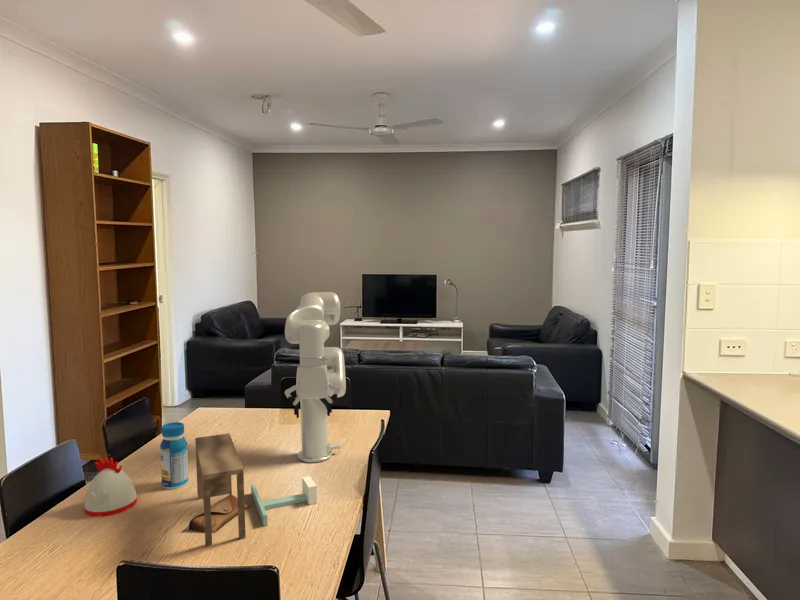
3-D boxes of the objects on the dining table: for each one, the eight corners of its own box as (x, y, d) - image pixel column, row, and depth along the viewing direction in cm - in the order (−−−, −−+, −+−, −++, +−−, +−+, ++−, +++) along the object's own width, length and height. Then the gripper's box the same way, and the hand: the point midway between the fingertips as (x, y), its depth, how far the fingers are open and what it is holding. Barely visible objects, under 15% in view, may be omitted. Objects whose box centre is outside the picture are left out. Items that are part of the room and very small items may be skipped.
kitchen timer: (105, 494, 167) (102, 448, 166) (146, 496, 166) (144, 450, 164) (73, 516, 153) (70, 466, 152) (118, 518, 152) (115, 468, 151)
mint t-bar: (304, 483, 174) (304, 467, 173) (323, 513, 154) (323, 495, 153) (251, 493, 167) (250, 477, 166) (263, 526, 147) (263, 507, 146)
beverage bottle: (184, 489, 170) (181, 428, 169) (157, 490, 170) (154, 429, 168) (192, 478, 179) (190, 420, 177) (166, 479, 178) (164, 421, 176)
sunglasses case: (214, 535, 142) (203, 513, 143) (196, 544, 144) (185, 522, 145) (253, 505, 159) (243, 485, 160) (236, 513, 161) (226, 494, 162)
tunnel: (231, 492, 168) (229, 433, 167) (245, 538, 141) (243, 468, 139) (197, 498, 164) (195, 437, 162) (205, 547, 137) (202, 475, 135)
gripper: (338, 359, 172) (339, 411, 173) (284, 361, 169) (285, 414, 170) (340, 363, 165) (341, 417, 166) (283, 365, 161) (284, 420, 162)
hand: (313, 415), depth 168 cm, fingers open, 9 cm apart
